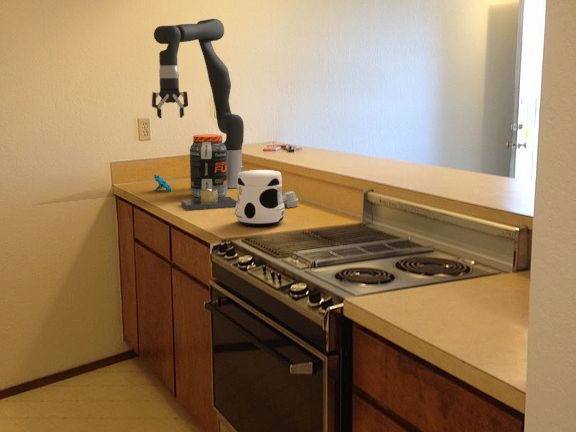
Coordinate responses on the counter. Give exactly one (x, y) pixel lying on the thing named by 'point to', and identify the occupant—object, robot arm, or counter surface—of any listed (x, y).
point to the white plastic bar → (290, 199)
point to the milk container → (259, 197)
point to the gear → (162, 183)
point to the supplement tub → (208, 164)
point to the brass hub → (209, 195)
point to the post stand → (208, 203)
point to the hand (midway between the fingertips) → (170, 117)
